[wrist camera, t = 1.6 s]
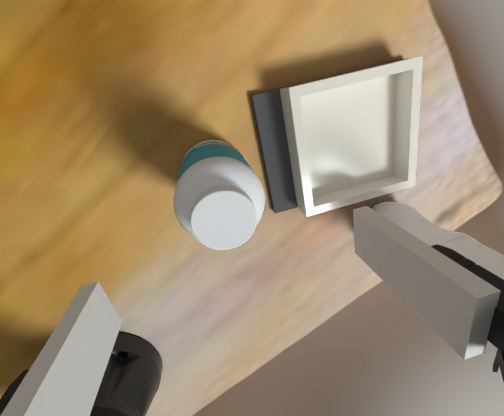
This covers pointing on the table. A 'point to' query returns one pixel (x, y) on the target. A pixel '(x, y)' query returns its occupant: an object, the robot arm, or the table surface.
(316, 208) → the tray
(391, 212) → the water bottle
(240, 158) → the pill bottle
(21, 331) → the table surface
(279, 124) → the mat
